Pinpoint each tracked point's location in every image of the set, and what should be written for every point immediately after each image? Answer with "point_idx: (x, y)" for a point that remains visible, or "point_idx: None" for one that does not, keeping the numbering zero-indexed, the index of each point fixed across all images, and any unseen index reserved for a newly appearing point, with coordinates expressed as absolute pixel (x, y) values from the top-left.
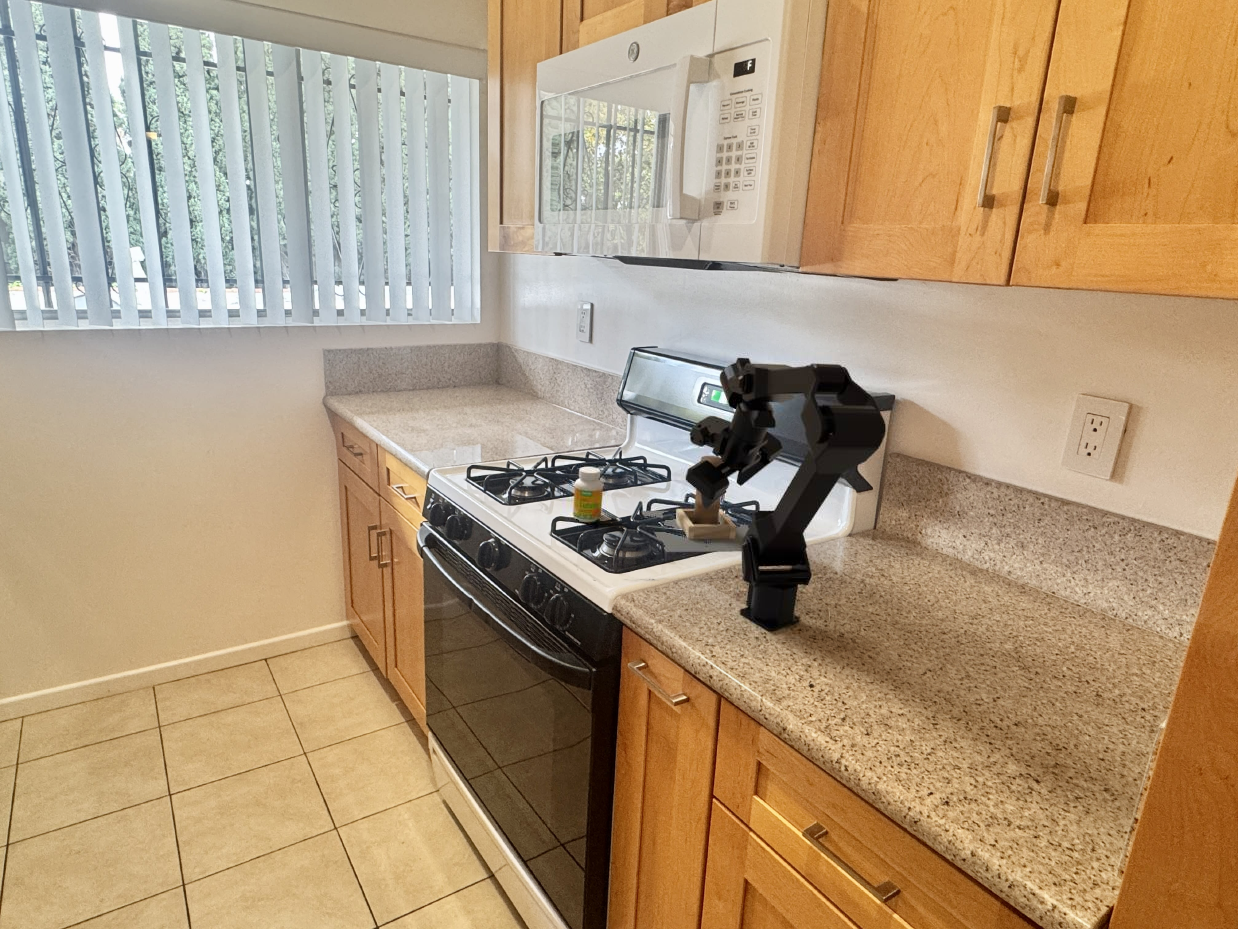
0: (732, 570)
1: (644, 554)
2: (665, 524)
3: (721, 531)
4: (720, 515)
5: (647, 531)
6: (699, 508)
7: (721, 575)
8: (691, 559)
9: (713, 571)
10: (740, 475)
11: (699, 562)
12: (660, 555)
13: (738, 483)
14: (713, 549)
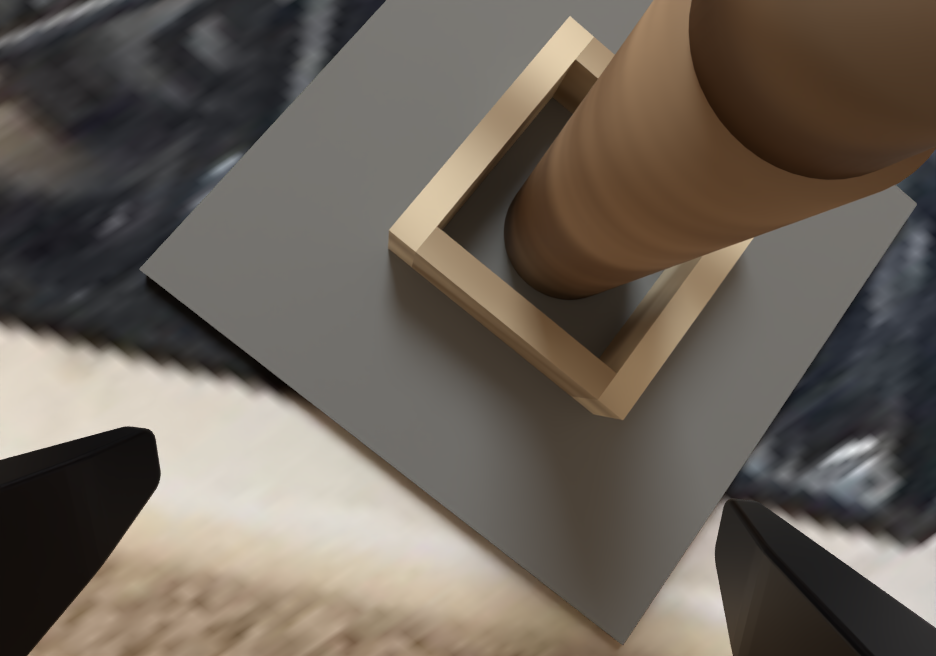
0: (252, 631)
1: (56, 191)
2: (466, 48)
3: (544, 363)
4: None
5: (339, 25)
6: (540, 184)
7: (147, 632)
8: (203, 400)
9: (159, 573)
10: (775, 620)
11: (203, 452)
12: (115, 258)
13: (725, 528)
14: (377, 423)
